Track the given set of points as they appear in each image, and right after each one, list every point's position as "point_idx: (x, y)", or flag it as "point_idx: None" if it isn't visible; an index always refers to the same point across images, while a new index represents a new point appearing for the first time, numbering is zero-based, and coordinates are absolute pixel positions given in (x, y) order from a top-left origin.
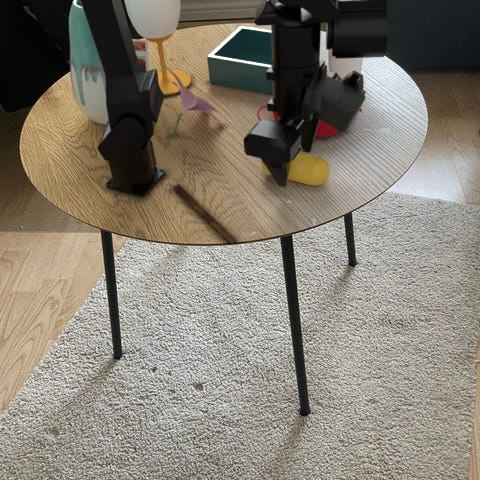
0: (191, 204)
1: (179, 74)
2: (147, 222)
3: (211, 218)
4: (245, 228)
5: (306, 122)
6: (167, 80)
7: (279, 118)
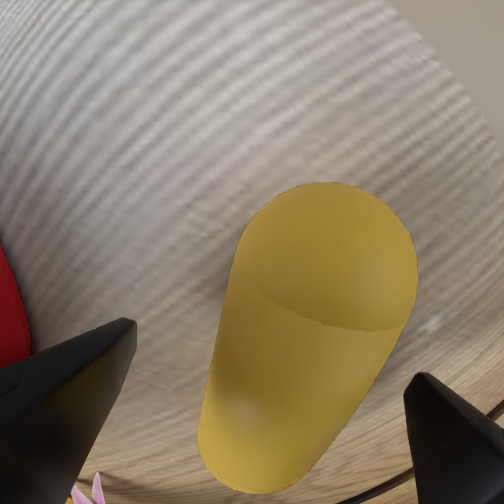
0: (400, 484)
1: None
2: None
3: None
4: (497, 385)
5: (48, 463)
6: None
7: None
